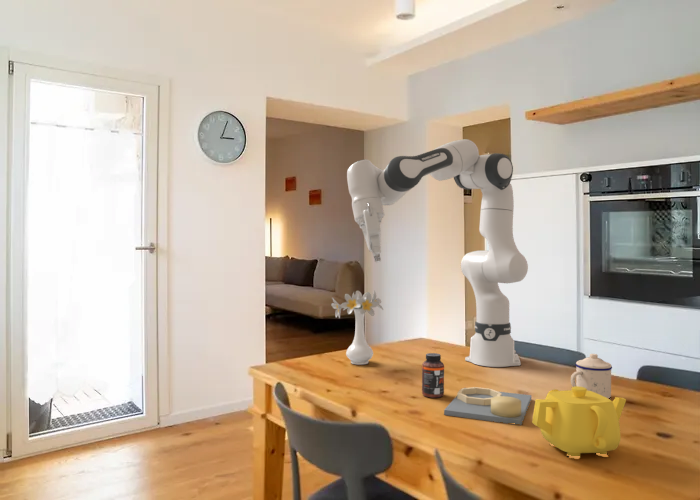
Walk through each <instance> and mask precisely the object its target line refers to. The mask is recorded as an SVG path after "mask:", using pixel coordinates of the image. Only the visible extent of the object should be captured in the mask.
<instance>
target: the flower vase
mask: <svg viewBox="0 0 700 500" xmlns="http://www.w3.org/2000/svg"><path fill="white" fill-rule="evenodd" d="M331 299H332V303H331V305H330V306H331V307H332V309H334V311H335V312H334V314H335V315H334V316H335V318H338V319H341V312H342V311H345V310H346V313H347V315H351V314H352V313H353V312H354V317H355V319H354V320H355V325H354V326H355V329H354V330H355V331H354V337H353V340H352V343H351V344H350V345H349V346H348V348H347V349H346V352H345V355H346V357H347V358H348V359H349V360H350V363H351V364H352V365H358V366H360V365H361V366H363V365H368V364H369V361H370V360H371V359H372V357H373V356H374V351H373V349H372V347H371V346H370V345H369V344H368V342H367V340H366V335H365V315H366V312H367V313H368V314H369V316H372V317H373V316H374V315H375V310H374V308H376V307H378V308H379V309H381V310H382V311H384V308H383V307H382V305H381V303H382V300H381V299H380V298H379V297H377V293H376V290H373V293H372V294H371V292H370V291H368V292H365V293H364V294H362V292H361V291H360V290H356V291H355V292H353V293H352V295H350V294H349V293H345V294H344V300H345V301H346V302H342V303H341V304H339V302H337V301H336V299H335V298H334V297H331Z"/></svg>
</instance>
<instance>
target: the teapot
mask: <svg viewBox="0 0 700 500" xmlns="http://www.w3.org/2000/svg"><path fill="white" fill-rule="evenodd" d="M626 402H627V399H626V398H624V397H620V396H619V397H618V396H615V397H614V399H613V400H611V398H610V399H608V398H606V397H604V396H602V395H599V394H597V393H595V392H592V391H588V390H587V389H586V388H584V387H579V386H575V387H573V386H572V387H571V389H570V390H569V389H567V390H559V389H555V388H554V389H552V390H549V391H548V392H547V394H546V397H545V398H542V399H541V398H539V399H535V401H534V406H533V407H534V408H533V414H532V421H531V423H532V424H533V425H534V426H536V427H537V428H538V429H540V433H541V436H542V437H543V438H544V440H546V441H547V442H549V444H550V443H551V444H553V445H554V446H556V447H555V448H557V449H559V450H561V451H562V452H565V453H566V455H567V454H568V455H571V456H580V457H581V454H595V453H600V454H606V453H608V452H610V451H611V452H612V451H615V450H616V449H617V448H618V446H619V445H620V442H621V428H620V419H621V416H622V413H623V411H624V407H625V405H626Z"/></svg>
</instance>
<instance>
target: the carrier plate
mask: <svg viewBox="0 0 700 500" xmlns="http://www.w3.org/2000/svg"><path fill="white" fill-rule="evenodd" d="M530 401H532V395H531V394H524V393H523V394H522V393H516V392H515V393H513V392H508V391H507V392H505V391H497V390H495V389H492V388H488V387H486V388H485V387H476V386H472V387H463V388H460V389H459V390H458V391H457V393H456V395H455V397H454V398H453V399H452V401H450V402H449V404H448V405H447V406H446V407H445V408H444V410H443V415H444V416H450V417H458V418H465V419H471V420H472V419H473V420H479V421H486V422H493V421H494V422H495V423H500V422H503V423H502V424H508V423H515V424H520V425H519V426H522V424H523V422H522V421H524V419H525V417H526V414H527V412H528V410H527V409H529V407H530V405H531V402H530ZM529 404H530V405H529ZM528 406H529V407H528ZM526 411H527V412H526ZM524 416H525V417H524ZM515 424H514V425H515Z"/></svg>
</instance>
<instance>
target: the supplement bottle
mask: <svg viewBox="0 0 700 500" xmlns="http://www.w3.org/2000/svg"><path fill="white" fill-rule="evenodd" d="M441 357H442V355H441V353H437V352H436V353H435V352H433V353H432V352H430V353H426V354H425V360H424V361H423V362H422V366H421V367H422V369H421V371H422V372H421V380H422V381H421V393H422V396H424V397H426V398H431V399H434V398H435V399H437V398H441V397H443V396H444V394H445V364H444V363H443V362H442V361H441V359H442V358H441Z"/></svg>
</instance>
